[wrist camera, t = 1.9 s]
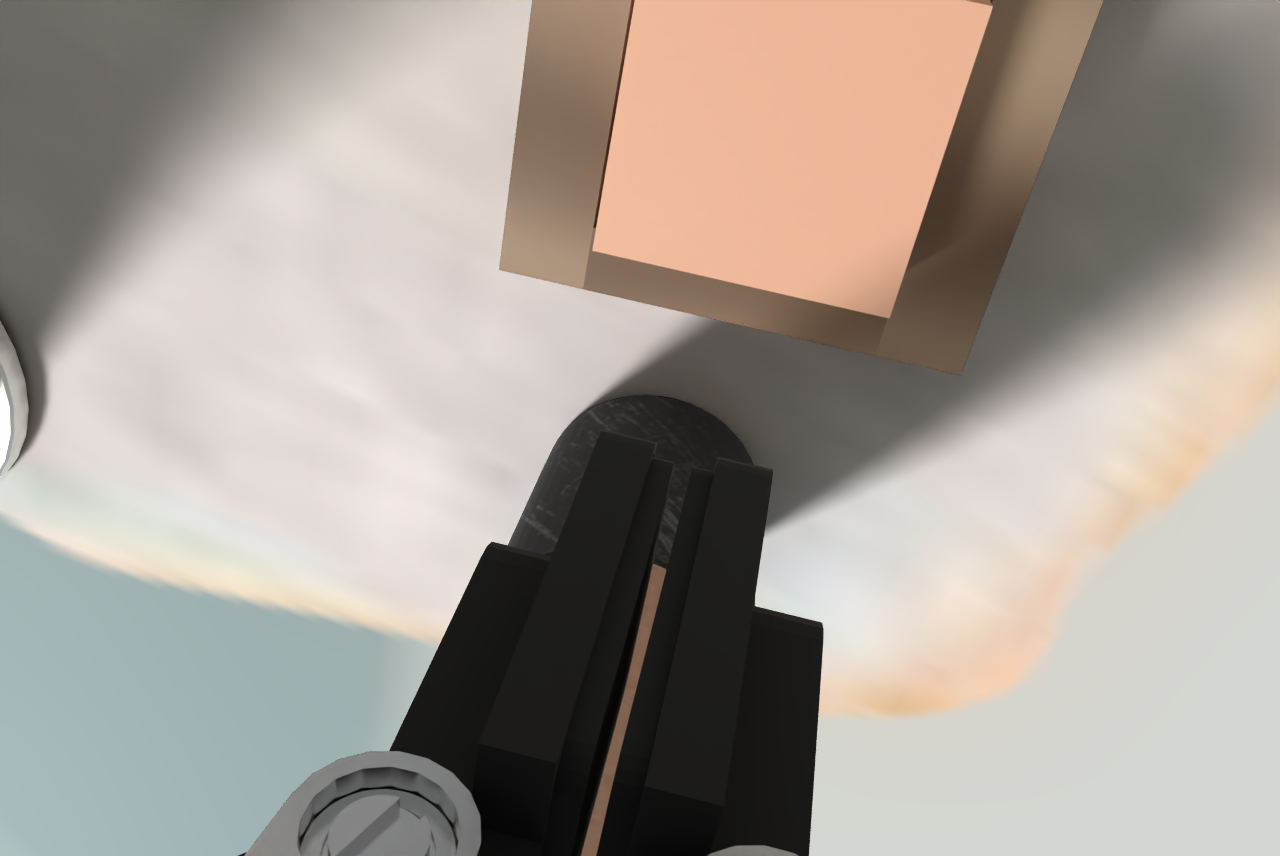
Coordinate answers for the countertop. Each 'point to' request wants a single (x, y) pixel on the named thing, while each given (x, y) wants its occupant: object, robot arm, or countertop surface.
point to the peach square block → (785, 139)
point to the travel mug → (688, 444)
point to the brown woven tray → (915, 332)
